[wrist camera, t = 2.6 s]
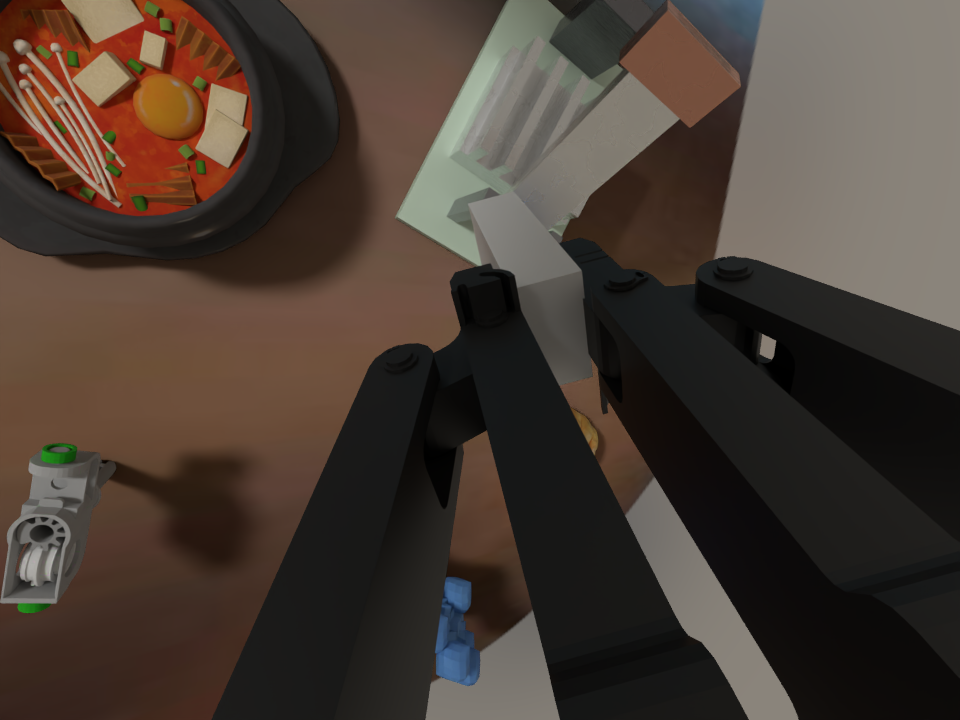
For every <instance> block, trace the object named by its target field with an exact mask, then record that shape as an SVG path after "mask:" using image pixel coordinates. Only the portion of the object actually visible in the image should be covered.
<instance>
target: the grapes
mask: <svg viewBox="0 0 960 720" xmlns="http://www.w3.org/2000/svg"><path fill="white" fill-rule="evenodd" d="M470 605H471V582H469V581H466V580H464V579H461V578H458V577H447V578H446V580H445V587H444V593H443V600H442V607H441V614H440V621H439V628H438V635H437V642H436V649H435V653H437V655H436V674H437V675H438V676H440V677H442V678H445V679H448V680H451V681H454V682H457V683H460V684H463V685H466V686H470V685H474V684H475V683H476V682H477V680H478V678H479V674H480V651H478V650H476V649H474V633H472V632H470V631H468V630H465V627H466V621H464V618H463V614H462V613H465V612H466V611H467V610H468V608H469V607H470Z"/></svg>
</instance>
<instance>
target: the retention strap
mask: <svg viewBox="0 0 960 720" xmlns="http://www.w3.org/2000/svg"><path fill="white" fill-rule="evenodd" d="M619 63H620V64H621V65H622V66H623V67H624V69H623V70H622V71H621V72H620V73H619V74H618V75H617V76H616V77H615V78H614V79H613V80H612V81H611V83H610V84H609V85H608V86H607V87H606V88H605V89H604V90H603V91H602V92H601V93H600V94H599V95H598V96H597V97H596V98H595V99H594V100H593V101H592V103H591V104H590V105H589V106H588V107H587V108H586V109H585V110H584V111H583V112H582V113H581V114H580V115H579V116H578V117H577V118H576V119H575V120H574V121H573V122H572V124H571V125H570V126H569V127H568V128H567V129H566V130H565V131H564V132H563V133H562V134H561V135H560V136H559V137H558V138H557V139H556V140H555V141H554V142H553V144H552V145H551V146H550V147H549V148H548V149H547V150H546V151H545V152H544V153H543V154H542V155H541V156H540V157H539V158H538V159H537V160H536V161H535V162H534V163H533V165H532V166H531V167H530V168H529V169H528V170H527V171H526V172H525V173H524V174H523V175H522V176H521V177H520V178H519V179H518V180H517V181H516V182H515V183H514V185H513V186H512V187H511V188H510V189H509V190H508V191H507V192H506V193H510V192H515V194H516V195H517V196H518V197H519V198H520V199H521V201H522V202H523V203H524V204H525V205H526V206H527V208H528V209H529V210H530V211H531V212H532V213H533V214H534V216H535V217H536V218H537V219H538V220H539V221H540V223H541V224H542V225H543V226H544V227H545V228H546V230H547V231H548V230H550V229H551V228H552V227H553V226H554V225H555V224H557V223H558V222H559V221H560V220H561V219H562V218H564V217H565V216H566V215H567V214H568V213H570V212H571V211H572V210H573V209H574V208H575V207H577V206H578V205H579V204H580V203H581V202H583V201H584V200H585V199H586V198H587V197H588V196H590V195H591V194H592V193H593V192H594V191H595V190H597V189H598V188H599V187H600V186H601V185H603V184H604V183H605V182H606V181H607V180H608V179H610V178H611V177H612V176H613V175H614V174H615V173H617V172H618V171H619V170H620V169H621V168H623V167H624V166H625V165H626V164H627V163H628V162H630V161H631V160H632V159H633V158H634V157H636V156H637V155H638V154H639V153H640V152H641V151H643V150H644V149H645V148H646V147H647V146H648V145H650V144H651V143H652V142H653V141H654V140H656V139H657V138H658V137H659V136H660V135H661V134H663V133H664V132H665V131H666V130H667V129H668V128H670V127H671V126H672V125H673V124H674V123H676V122H677V121H678V120H679V119H681V120H682V121H683V122H684V123H685V124H686V125H687V126H688V127H689V128H691V127H692V126H693V125H694V124H696V123H697V122H698V121H699V120H700V119H702V118H703V117H704V116H705V115H707V114H708V113H709V112H710V111H712V110H713V109H714V108H715V107H716V106H718V105H719V104H720V103H721V102H723V101H724V100H725V99H726V98H727V97H729V96H730V95H731V94H732V93H734V92H735V91H736V90H737V89H738V88H740V87H741V84H740V77H739V73H738V72H737V71H736V70H735V69H734V68H733V67H732V66H731V65H730V64H729V63H728V62H727V61H726V60H725V59H724V58H723V57H722V55H721V54H720V53H719V52H718V51H717V50H716V49H715V48H714V47H713V46H712V45H711V44H710V43H709V42H708V41H707V40H706V39H705V37H704V36H703V35H702V34H701V33H700V32H699V31H698V30H697V29H696V28H695V27H694V26H693V25H692V24H691V23H690V22H689V21H688V20H687V18H686V17H685V16H684V15H683V14H682V13H681V12H680V11H679V10H678V9H677V8H676V7H675V6H674V5H673V4H672V3H671V2H670V1H669V0H666V1H665V2H664V3H663V4H662V5H661V6H660V7H659V8H658V9H657V10H656V12H655V13H654V14H653V15H652V16H651V17H650V18H649V19H648V20H647V21H646V23H645V24H644V25H643V26H642V27H641V28H640V29H639V30H638V31H637V32H636V34H635V35H634V36H633V37H632V38H631V39H630V40H629V41H628V42H627V43H626V44H625V46H624V47H623V48H622V49H621V50H620V57H619ZM506 193H505V194H506Z"/></svg>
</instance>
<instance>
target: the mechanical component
mask: <svg viewBox="0 0 960 720" xmlns="http://www.w3.org/2000/svg"><path fill="white" fill-rule="evenodd" d="M28 470H29V472H30V473H31V474H33V478H32V485H31V491H30V498H29V500H28V501H27V502H25V503H24V504H23V505H22V512H21V517H20V518H18V519H17V520H16V521H15V522H14V523H13V524H12V525H11V527H10V528H9V530H8V534H7V542H8V544H9V548H8V555H7V561H6V568H5V574H4V581H3V588H2V594H1V601H0V603H18V610H19V611H21V612H24V613H35V612H39V611H42V610H44V609H46V608H48V607H49V606H50V605H51V603H57V602H58V600H59V599H60V597H61V596H62V595H63V593H64V592H65V590H66V589H67V588H68V586H69V583H70V582H71V580H72V579H73V578H74V576H75V575H76V573H77V571H78V569H79V567H80V565H81V562H82V560H83V556H84V553H85V548H86V542H87V536H88V531H89V525H90V519H91V513H92V509H93V508H94V507H95V506H96V505H97V504H98V503H99V501H100V498H101V490H100V488H101V487H102V486H103V485H104V484H105V483H106V481H107V480H108V479H109V478H110V477H111V476H112V475H113V473H114V472H115V470H116V465H115V463H114V462H113V461H108V462H107V463H106V464H104V463H103V464H102V460H100V454H99V453H97V452H87V451H77V447H76V446H74V445H71V444H63V443H58V444H50V445H46V446H44V447H43V448H42V450H41V451H39V452H38V453H37V454H35V455H34V456H33V457H32V458H31V459H30V463H29V469H28ZM28 542H30V543H29V544H28V545H27V547H26V549H25V551H24V553H23V555H22V558H21V561H20V565H19V571H18V573H17V574H16V571H15V570H16V564H17V560H18V557H19V554H20V552H21V550H22V548H23V546H24V545H25V543H28Z"/></svg>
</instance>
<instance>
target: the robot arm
mask: <svg viewBox="0 0 960 720" xmlns="http://www.w3.org/2000/svg"><path fill="white" fill-rule="evenodd" d="M468 206H469V211H470V215H471V220H472V224H473V229H474V233H475V237H476V242H477V246H478V251H479V255H480V260H481V264H482V265H481V266H477V267H474V268H470V269H466V270H462V271H458V272H455V274H454V275H453V277H452V279H451V281H450V285H451V289H452V290H451V294H452V298H453V301H454V305H455V309H456V312H457V316H458V320H459V323H460V327H461V331H460V333H459V335H458V336H457V338H456V339H455V340H454V341H453V342H452V343H450V344H449V345H448V346H446V347H444V348H442V349H441V350H439V351H437V352H435V353H433V351H432V350H431V349H430V348H429V347H428V346H426V345H422V344H419V343H416V344H404V345H398V346H395V347H392V348H390V349H388V350H386V351H385V352H383V353H382V354H381V355H379V356H378V357H377V358H375V360H374V361H373V362H372V364H371V365H370V366H369V369H368V371H367V373H366V375H365V378H364V380H363V382H362V384H361V387H360V389H359V391H358V393H357V396H356V398H355V400H354V402H353V404H352V407H351V409H350V411H349V413H348V416H347V418H346V420H345V422H344V425H343V427H342V429H341V431H340V434H339V436H338V438H337V440H336V442H335V445H334V447H333V449H332V451H331V454H330V456H329V458H328V460H327V463H326V465H325V467H324V469H323V472H322V474H321V476H320V478H319V481H318V483H317V485H316V487H315V489H314V492H313V494H312V496H311V498H310V501H309V503H308V505H307V507H306V510H305V512H304V514H303V516H302V519H301V521H300V523H299V525H298V528H297V530H296V532H295V534H294V536H293V539H292V541H291V543H290V545H289V548H288V550H287V552H286V554H285V557H284V559H283V561H282V563H281V566H280V568H279V570H278V572H277V574H276V577H275V579H274V581H273V583H272V586H271V588H270V590H269V592H268V595H267V597H266V599H265V601H264V604H263V606H262V608H261V610H260V613H259V615H258V617H257V619H256V621H255V624H254V626H253V628H252V630H251V633H250V635H249V637H248V639H247V642H246V644H245V646H244V648H243V651H242V653H241V655H240V657H239V660H238V662H237V664H236V666H235V668H234V671H233V673H232V675H231V677H230V680H229V682H228V684H227V686H226V689H225V691H224V693H223V695H222V698H221V700H220V702H219V704H218V706H217V709H216V711H215V713H214V715H213V718H212V720H425V718H426V711H427V704H428V698H429V691H430V684H431V677H432V670H433V663H434V656H435V649H436V642H437V635H438V628H439V621H440V614H441V607H442V600H443V593H444V587H445V580H446V573H447V566H448V559H449V552H450V545H451V538H452V531H453V524H454V517H455V510H456V503H457V496H458V489H459V482H460V476H461V469H462V462H463V455H464V451H463V443H464V442H466V441H468V440H470V439H472V438H474V437H475V436H477V435H479V434H481V433H483V432H484V431H486V430H487V432H488V436H489V440H490V444H491V448H492V452H493V456H494V460H495V463H496V467H497V471H498V475H499V479H500V483H501V487H502V491H503V495H504V499H505V503H506V506H507V510H508V514H509V518H510V522H511V526H512V530H513V534H514V538H515V542H516V545H517V549H518V553H519V557H520V561H521V565H522V569H523V573H524V577H525V581H526V585H527V588H528V592H529V596H530V600H531V604H532V608H533V612H534V615H535V619H536V624H537V627H538V631H539V635H540V639H541V643H542V647H543V651H544V655H545V659H546V663H547V667H548V671H549V675H550V680H551V685H552V689H553V693H554V697H555V701H556V705H557V709H558V713H559V717H560V720H749V719H748V717H747V715H746V714H745V712H744V710H743V708H742V706H741V704H740V702H739V701H738V699H737V697H736V695H735V693H734V691H733V689H732V688H731V686H730V684H729V682H728V680H727V679H726V677H725V675H724V674H723V672H722V670H721V669H720V667H719V665H718V664H717V662H716V660H715V659H714V657H713V656H712V655H711V653H710V652H709V651H708V650H707V649H706V647H705V646H704V645H703V644H702V642H700V641H698V640H696V639H694V638H692V637H690V636H688V634H687V633H686V632H685V631H684V629H683V628H682V626H681V625H680V623H679V621H678V619H677V618H676V616H675V614H674V612H673V610H672V608H671V606H670V604H669V602H668V600H667V598H666V596H665V594H664V592H663V590H662V588H661V586H660V585H659V582H658V580H657V578H656V576H655V574H654V572H653V570H652V568H651V566H650V564H649V562H648V561H647V559H646V557H645V555H644V553H643V551H642V549H641V547H640V545H639V543H638V541H637V539H636V537H635V535H634V533H633V531H632V529H631V527H630V525H629V523H628V521H627V519H626V517H625V515H624V513H623V511H622V509H621V507H620V505H619V503H618V501H617V499H616V497H615V495H614V493H613V491H612V489H611V487H610V485H609V483H608V481H607V479H606V477H605V475H604V473H603V471H602V469H601V467H600V465H599V463H598V461H597V460H596V458H595V456H594V454H593V452H592V450H591V448H590V446H589V444H588V442H587V440H586V438H585V436H584V434H583V432H582V430H581V428H580V426H579V424H578V422H577V420H576V418H575V416H574V414H573V412H572V410H571V408H570V406H569V404H568V402H567V400H566V398H565V396H564V394H563V392H562V390H561V388H560V386H559V385H563V384H567V383H570V382H574V381H578V380H581V379H585V378H589V377H593V375H592V365H591V358H592V360H593V361H594V363H595V364H596V366H597V367H598V376H599V386H600V397H601V408H602V412H603V414H606V413H608V409H607V405H608V403H610V405H611V406H612V408H613V409H614V411H615V413H616V414H617V416H618V418H619V419H620V421H621V422H622V424H623V426H624V427H625V429H626V431H627V432H628V434H629V436H630V437H631V439H632V440H633V442H634V444H635V445H636V447H637V449H638V450H639V452H640V454H641V455H642V457H643V458H644V460H645V462H646V463H647V465H648V467H649V468H650V470H651V471H652V473H653V475H654V476H655V478H656V480H657V481H658V483H659V485H660V486H661V488H662V489H663V491H664V493H665V494H666V496H667V497H668V499H669V501H670V503H671V504H672V506H673V507H674V509H675V511H676V512H677V514H678V516H679V517H680V519H681V520H682V522H683V524H684V525H685V527H686V529H687V530H688V532H689V534H690V535H691V537H692V538H693V540H694V542H695V543H696V545H697V546H698V548H699V550H700V551H701V553H702V555H703V556H704V558H705V559H706V561H707V563H708V565H709V566H710V568H711V569H712V571H713V573H714V574H715V576H716V578H717V579H718V581H719V582H720V584H721V586H722V587H723V589H724V591H725V592H726V594H727V595H728V597H729V599H730V601H731V602H732V604H733V605H734V607H735V608H736V610H737V612H738V614H739V615H740V617H741V618H742V620H743V622H744V623H745V625H746V627H747V628H748V630H749V632H750V633H751V635H752V636H753V638H754V640H755V641H756V643H757V644H758V646H759V648H760V649H761V651H762V653H763V654H764V656H765V658H766V659H767V661H768V662H769V664H770V666H771V667H772V669H773V671H774V672H775V674H776V676H777V677H778V679H779V680H780V682H781V684H782V685H783V687H784V689H785V690H786V692H787V694H788V696H789V697H790V700H791V701H792V703H793V706H794V708H795V710H796V713H797V715H798V719H799V720H960V331H958V330H956V329H953V328H950V327H947V326H944V325H941V324H938V323H936V322H932V321H930V320H927V319H924V318H921V317H918V316H915V315H913V314H910V313H907V312H904V311H901V310H898V309H895V308H893V307H890V306H887V305H884V304H881V303H878V302H875V301H873V300H869V299H867V298H864V297H861V296H858V295H855V294H852V293H850V292H847V291H844V290H841V289H838V288H835V287H832V286H830V285H827V284H824V283H821V282H818V281H815V280H812V279H809V278H806V277H804V276H801V275H798V274H795V273H792V272H789V271H787V270H784V269H781V268H778V267H775V266H772V265H769V264H766V263H764V262H761V261H757V260H753V259H749V258H739V257H738V258H737V257H735V256H730V257H727V258H725V257H722V258H718V259H716V260H712V261H709V262H706V263H705V264H703V265H701V266H700V267H699V268H698V270H697V271H696V282H695V284H690V285H679V286H664V285H663V284H662V283H661V282H659V281H658V280H657V279H656V278H655V277H654V276H653V275H651V274H649V273H647V272H645V271H641V270H635V269H622V268H621V267H620V266H619V265H618V264H617V263H616V262H615V261H614V260H613V259H612V258H610V257H608V255H607V254H606V253H605V252H604V251H602V249H601V248H600V247H599V246H598V245H597V244H596V243H595V242H592V241H589V240H586V239H583V238H577V239H574V240H570V241H566V242H562V243H558V242H557V241H556V240H555V239H554V238H553V237H552V235H551V234H550V233H549V232H548V231H547V230H546V228H545V227H544V226H543V225H542V224H541V223H540V221H539V220H538V219H537V218H536V217H535V216H534V214H533V213H532V212H531V211H530V210H529V209H528V208H527V206H526V205H525V204H524V203H523V202H522V201H521V199H520V198H519V197H518V196H517V195H516V194H515V192H510V193H506V194H503V195H499V196H495V197H491V198H487V199H484V200H480V201H476V202H472V203H468ZM762 334H764V335H766V336H768V337H770V338H772V339H774V340H776V346H775V353H774V357H773V359H772V360H771V359H768V358H766V357H764V356H762V355H760V354H759V353H760V347H761V339H762Z"/></svg>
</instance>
